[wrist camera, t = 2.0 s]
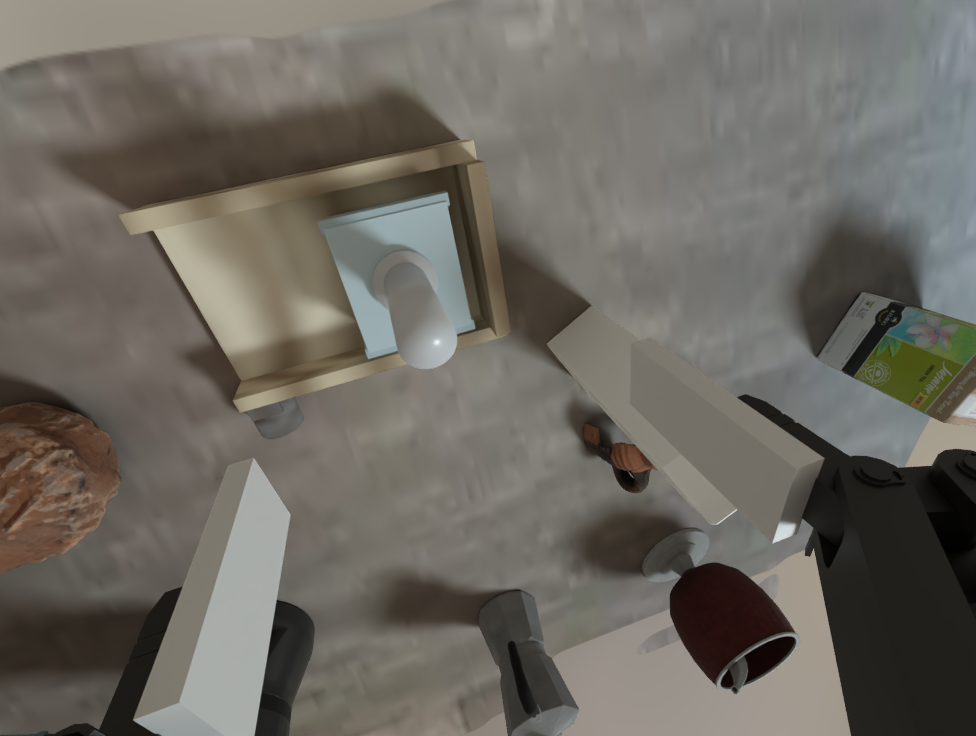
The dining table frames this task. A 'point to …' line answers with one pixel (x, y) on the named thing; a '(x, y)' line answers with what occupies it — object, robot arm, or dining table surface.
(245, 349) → the tray
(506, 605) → the coffeepot
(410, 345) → the cylinder on square plate
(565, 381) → the dining table surface
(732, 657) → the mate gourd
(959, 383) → the tea box
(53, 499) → the decorative rock
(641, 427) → the milk
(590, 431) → the pottery mug
